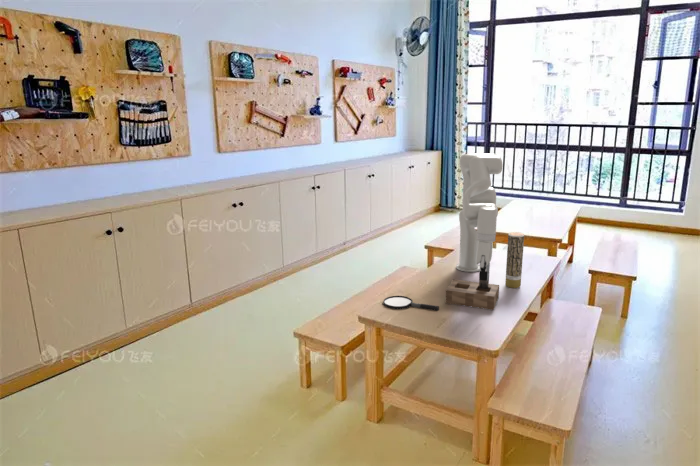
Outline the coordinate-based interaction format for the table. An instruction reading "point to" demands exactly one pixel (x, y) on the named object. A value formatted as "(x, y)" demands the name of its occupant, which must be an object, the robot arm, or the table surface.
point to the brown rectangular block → (472, 294)
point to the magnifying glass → (405, 303)
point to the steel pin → (483, 283)
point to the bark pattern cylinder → (514, 259)
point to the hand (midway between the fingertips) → (484, 277)
